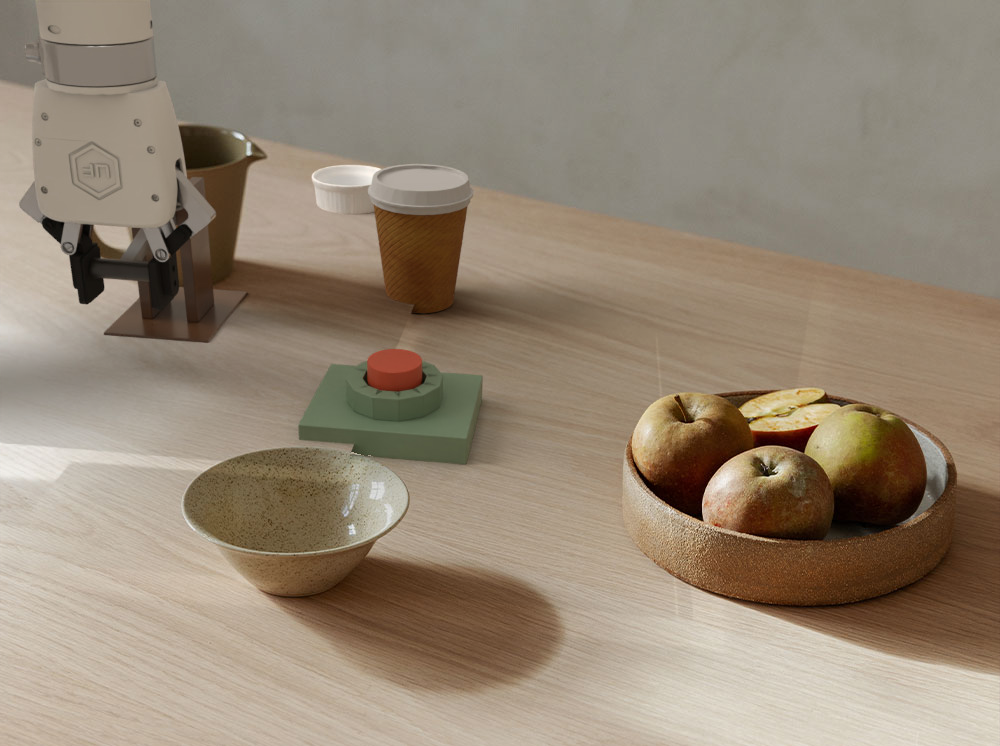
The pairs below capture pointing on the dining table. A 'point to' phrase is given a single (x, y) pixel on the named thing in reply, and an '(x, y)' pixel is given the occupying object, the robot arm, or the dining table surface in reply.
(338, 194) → the ramekin
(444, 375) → the button box
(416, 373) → the button
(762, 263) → the dining table surface
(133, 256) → the lever
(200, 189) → the bracket
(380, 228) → the disposable coffee cup
